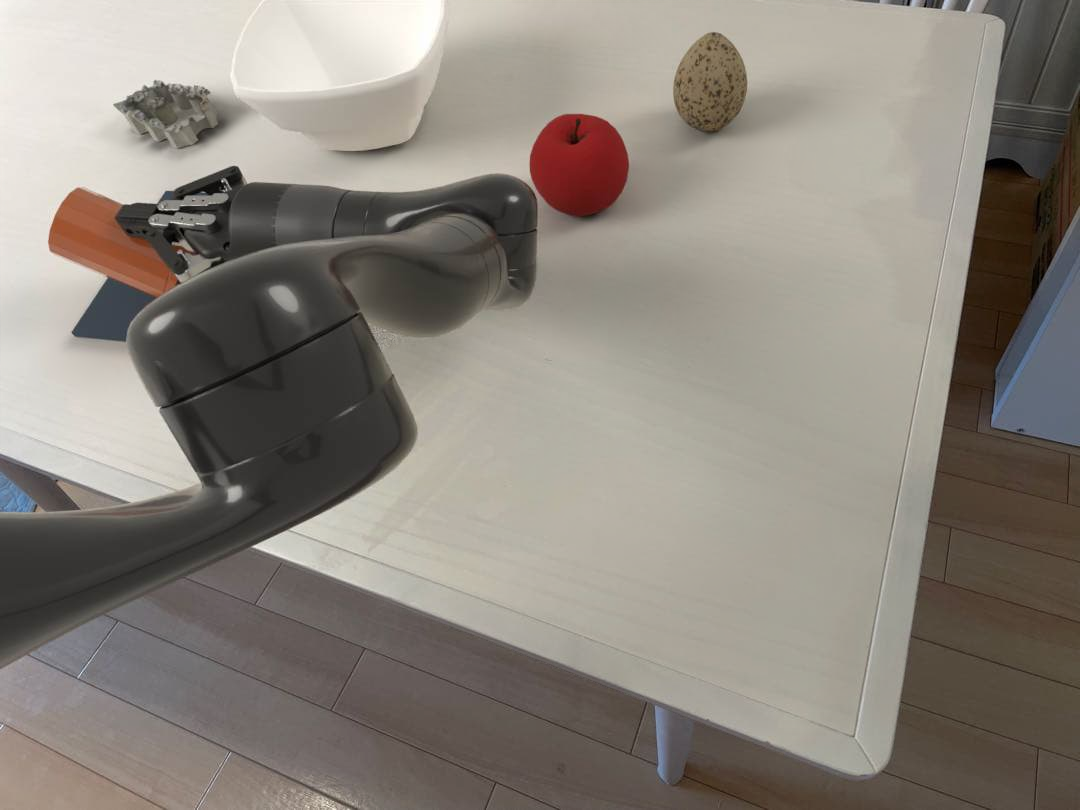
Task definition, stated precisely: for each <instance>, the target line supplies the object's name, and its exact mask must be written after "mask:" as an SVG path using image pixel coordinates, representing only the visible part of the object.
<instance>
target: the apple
mask: <svg viewBox="0 0 1080 810" xmlns="http://www.w3.org/2000/svg"><path fill="white" fill-rule="evenodd" d="M528 165H529V174H530V178H531V181H532V183H533V185H534V187H535V189H536V191H537V192H538V194H539V195H540V197H541V198H542V199H543V201H544V202H546V204H547V205H549V207H551V208H552V209H554V210H556V211H557V212H560V213H563V214H565V215H568V216H572V217H584V216H585V217H586V216H591V215H594V214H597V213H599V212H601V211H603V210H607V209H608V208H609V207H610V206H612V205H614V203H615V202H616V201H617V200H618V199H619V197H620V195H621V194H622V193H623V191H624V189H625V186H626V183H627V181H628V176H629V169H630V161H629V153H628V150H627V147H626V144H625V142H624V140H623V137H622V135H620V133H619V132H618V130H617V129H616V127H615V126H613V125H612V124H611V123H610V122H609V121H608V120H606V119H604V118H601V117H600V116H596V115H591V114H587V113H586V114H585V113H564V114H561V115H559V116H556V117H555V118H553V119H552V120H550V121H549V122H548V123H547V124H546V125H545V126H544V127H543V128H542V129H541V131H540V132H539V134H538V135H537V137H536V139H535V141H534V143H533V145H532V149H531V151H530V155H529V164H528Z"/></svg>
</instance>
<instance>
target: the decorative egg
mask: <svg viewBox="0 0 1080 810" xmlns="http://www.w3.org/2000/svg"><path fill="white" fill-rule="evenodd" d="M673 79H674V80H673V85H672V86H673V88H672V92H673V94H672V95H673V102H674V106H675V110H676V111H677V113H678V115H679V116H680V118H681V119H682V120H683V122H684V123H685V124H687V125H688V126H689V127H690V128H693V129H695V130H697V131H700V132H715V131H718V130H720V129H723V128H724V127H726V126H728V125H729V124H731V123H732V122H733V121H734V120H735V119H736V118H737V116H738V115H739V113H740V112H741V110H742V108H743V106H744V103H745V102H746V97H747V94H748V74H747V69H746V64H745V62H744V60H743V58H742V56H741V54H740V52H739V51H738V49H737V47H736V46H735V45H734V44H733V42H732V41H731V40H729V38H727V37H726V36H725V35H724V34H722V33H719V32H717V31H711V32H707V33H705V34H704V35H702V36H701V37H699V38H698V39H697V40H696V41H695V42H694V43H693V44H692V45H691V46H690V47H689V48H688V50H687V52H685V54H684V55H683V57H682V59H681V60H680V62H679V64H678V67H677V69H676V72H675V75H674V78H673Z"/></svg>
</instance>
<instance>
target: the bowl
mask: <svg viewBox="0 0 1080 810" xmlns="http://www.w3.org/2000/svg"><path fill="white" fill-rule="evenodd" d="M450 5H451V4H450V0H261V1H260V2H259V4H257V6H256V7H255V9H254V10H253V12H252V13H251V15H250V16H249V17H248V19H247V21H246V23H245V25H244V27H243V29H242V30H241V32H240V34H239V35H238V38H237V41H236V44H235V48H234V51H233V54H232V58H231V59H232V61H231V66H230V73H229V74H230V75H229V76H230V80H231V85H232V88H233V89H232V90H233V92H234V95H235V96H236V98H238V99H239V100H240V101H242V102H243V103H245V104H246V105H248V106H249V107H250V108H252V109H253V110H255V111H256V112H257V113H259V114H260V115H261V116H262V117H264V118H265V119H266V120H268V121H270V122H271V123H272V124H274V125H275V126H277V127H278V128H279V129H281V130H286V131H289V132H296V133H301V134H302V135H303V136H304V137H306V138H307V139H308V140H310V141H311V142H312V143H314V144H315V145H316V146H317V147H319V148H320V149H323V150H327V151H343V152H344V151H345V152H358V151H359V152H361V151H369V150H378V149H381V148H386V147H391V146H397V145H400V144H403V143H406V142H408V141H410V139H412V137H413V136H414V134H415V133H416V131H417V128H418V126H419V125H420V122H421V121H422V117H423V113H424V109H425V105H426V104H427V103H428V101H429V99H430V97H431V95H432V93H433V91H434V88H435V86H436V84H437V79H438V77H439V74H440V73H439V72H440V69H441V65H442V64H441V63H442V59H443V54H444V49H445V44H446V39H447V35H448V34H447V33H448V28H449V24H450V22H449V21H450Z"/></svg>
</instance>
